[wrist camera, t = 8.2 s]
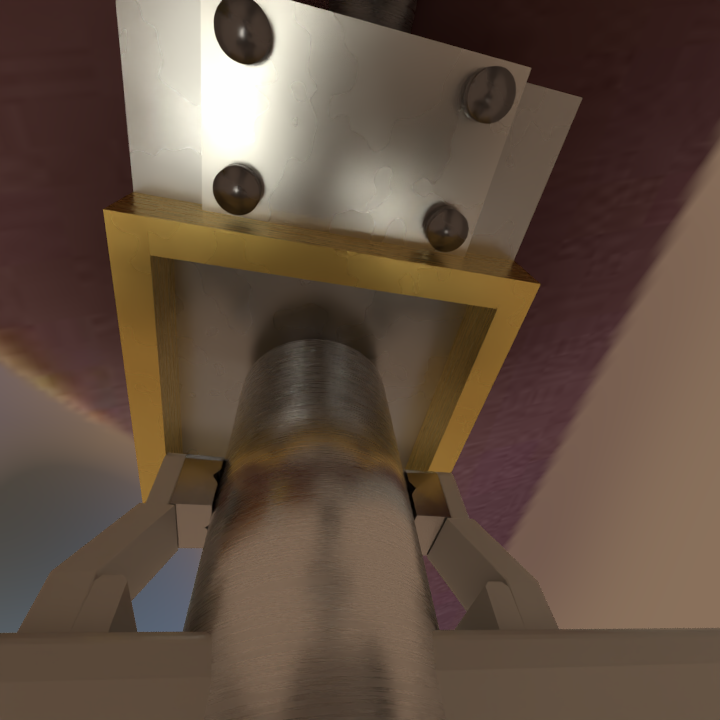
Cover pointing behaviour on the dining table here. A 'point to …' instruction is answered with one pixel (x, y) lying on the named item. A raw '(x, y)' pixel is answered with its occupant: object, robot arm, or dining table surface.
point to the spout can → (315, 552)
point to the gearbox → (320, 211)
